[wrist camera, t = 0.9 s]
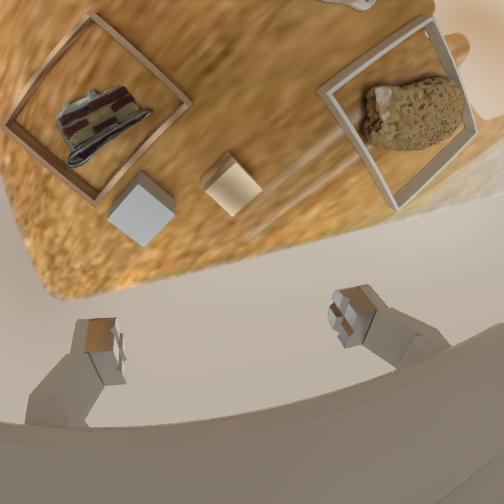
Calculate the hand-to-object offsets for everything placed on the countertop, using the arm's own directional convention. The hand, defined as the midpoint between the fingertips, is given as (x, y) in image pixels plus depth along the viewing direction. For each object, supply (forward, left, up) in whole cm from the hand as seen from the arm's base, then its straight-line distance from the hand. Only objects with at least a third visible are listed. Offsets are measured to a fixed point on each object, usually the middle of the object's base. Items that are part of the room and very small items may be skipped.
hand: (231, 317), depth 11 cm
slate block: (+10, +2, -32) cm, 33 cm away
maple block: (0, +8, -32) cm, 33 cm away
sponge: (-29, +19, -32) cm, 47 cm away
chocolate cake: (+5, -10, -32) cm, 34 cm away
